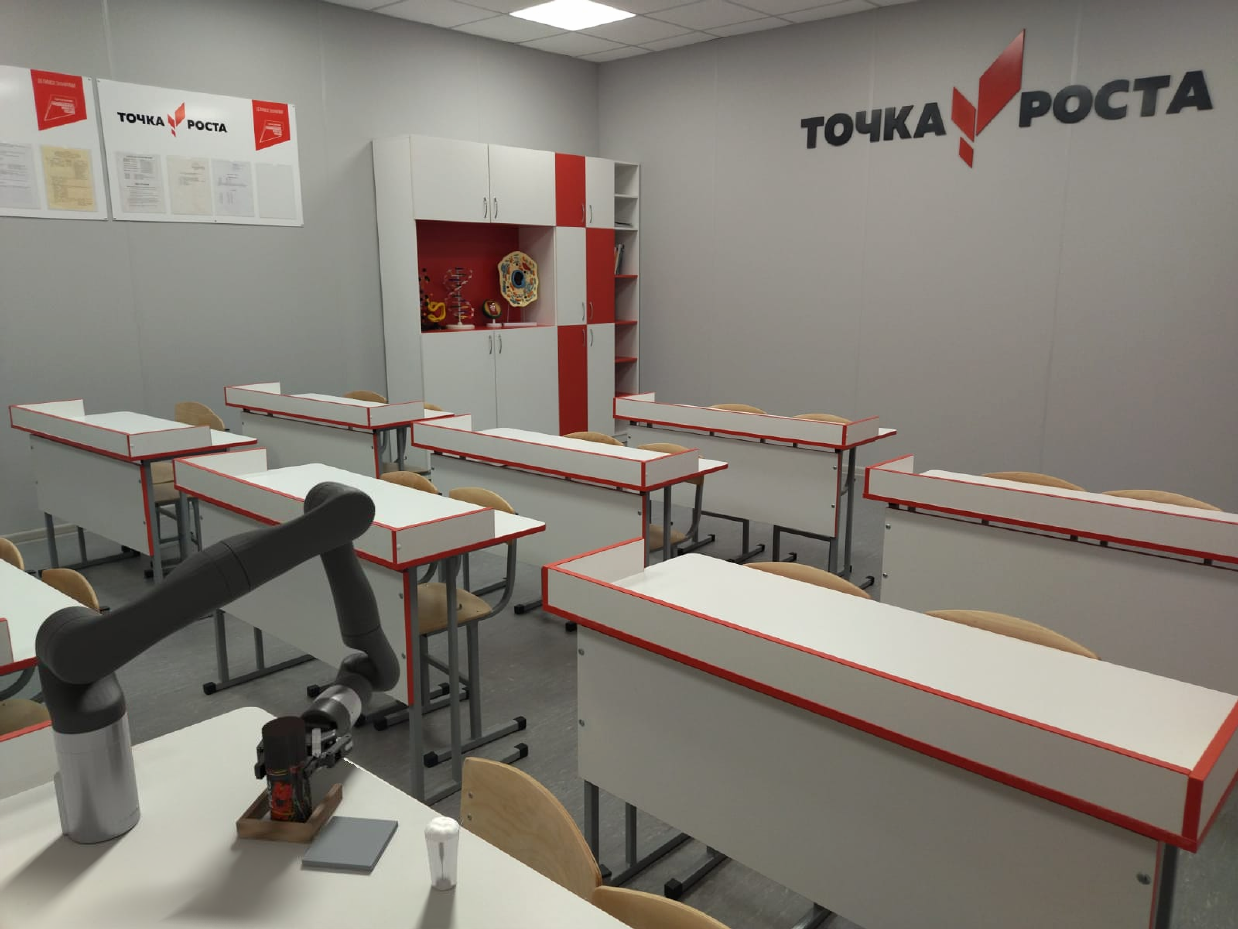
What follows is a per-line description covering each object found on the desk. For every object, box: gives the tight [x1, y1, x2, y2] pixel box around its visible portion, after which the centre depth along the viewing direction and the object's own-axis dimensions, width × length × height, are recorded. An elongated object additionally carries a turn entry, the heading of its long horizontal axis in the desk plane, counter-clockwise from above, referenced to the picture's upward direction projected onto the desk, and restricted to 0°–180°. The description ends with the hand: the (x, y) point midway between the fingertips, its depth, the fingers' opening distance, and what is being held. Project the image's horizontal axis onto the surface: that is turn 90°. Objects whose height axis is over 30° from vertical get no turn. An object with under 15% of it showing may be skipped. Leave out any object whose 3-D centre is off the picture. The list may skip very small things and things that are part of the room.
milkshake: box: [423, 816, 465, 891], centre depth 117 cm, size 4×5×10 cm
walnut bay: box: [235, 783, 344, 845], centre depth 131 cm, size 11×11×2 cm
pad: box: [301, 815, 399, 872], centre depth 125 cm, size 10×10×1 cm
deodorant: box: [261, 715, 314, 823], centre depth 130 cm, size 6×6×15 cm
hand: (279, 775), depth 128 cm, fingers closed on deodorant, 6 cm apart
